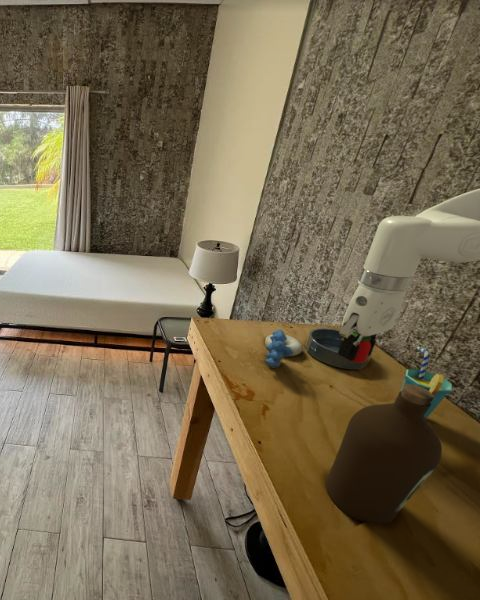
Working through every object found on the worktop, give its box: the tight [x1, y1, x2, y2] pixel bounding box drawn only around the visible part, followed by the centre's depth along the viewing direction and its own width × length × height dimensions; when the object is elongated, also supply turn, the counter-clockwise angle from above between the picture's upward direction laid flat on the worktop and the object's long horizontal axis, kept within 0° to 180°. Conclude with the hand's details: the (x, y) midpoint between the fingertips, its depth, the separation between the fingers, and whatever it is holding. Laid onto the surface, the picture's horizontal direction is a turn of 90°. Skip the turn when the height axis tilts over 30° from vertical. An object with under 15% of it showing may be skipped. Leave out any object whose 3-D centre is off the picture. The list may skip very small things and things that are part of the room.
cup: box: [400, 346, 453, 420], centre depth 72 cm, size 14×8×15 cm, turn 156°
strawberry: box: [343, 332, 371, 363], centre depth 70 cm, size 4×4×6 cm
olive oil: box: [325, 384, 443, 524], centre depth 51 cm, size 11×11×25 cm
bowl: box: [304, 327, 375, 370], centre depth 95 cm, size 15×15×5 cm
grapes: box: [265, 329, 293, 368], centre depth 89 cm, size 12×7×12 cm, turn 152°
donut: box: [264, 333, 303, 357], centre depth 99 cm, size 10×4×10 cm
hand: (353, 354), depth 71 cm, fingers closed on strawberry, 4 cm apart
